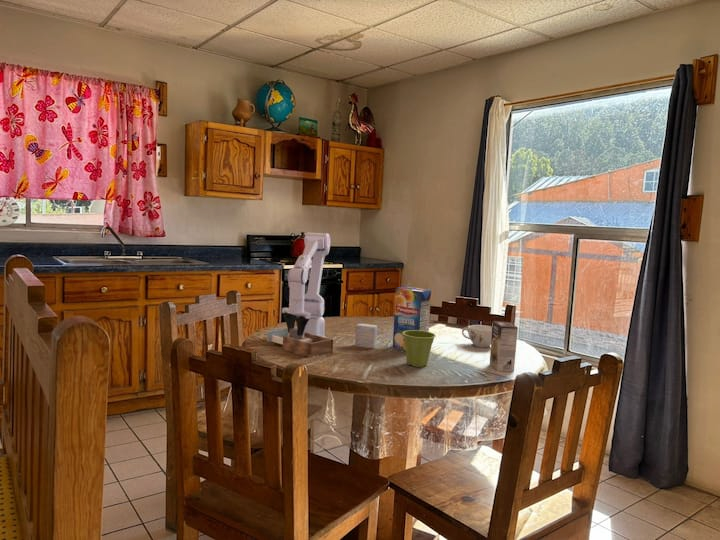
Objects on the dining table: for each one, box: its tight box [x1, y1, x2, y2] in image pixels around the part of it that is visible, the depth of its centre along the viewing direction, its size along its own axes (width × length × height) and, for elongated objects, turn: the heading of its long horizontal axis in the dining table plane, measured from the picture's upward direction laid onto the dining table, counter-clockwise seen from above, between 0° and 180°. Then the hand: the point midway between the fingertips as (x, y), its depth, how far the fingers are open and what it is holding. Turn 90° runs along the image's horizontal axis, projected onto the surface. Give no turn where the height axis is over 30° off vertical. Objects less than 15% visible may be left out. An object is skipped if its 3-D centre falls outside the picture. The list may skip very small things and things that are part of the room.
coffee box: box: [489, 320, 519, 372], centre depth 197 cm, size 9×6×16 cm
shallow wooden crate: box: [281, 332, 334, 358], centre depth 208 cm, size 16×12×5 cm
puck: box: [289, 327, 302, 340], centre depth 212 cm, size 5×5×4 cm
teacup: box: [461, 324, 492, 349], centre depth 230 cm, size 15×12×8 cm
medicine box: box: [354, 323, 379, 349], centre depth 219 cm, size 8×4×9 cm, turn 71°
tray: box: [266, 327, 313, 346], centre depth 214 cm, size 15×12×4 cm
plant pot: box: [403, 330, 437, 368], centre depth 196 cm, size 12×12×11 cm
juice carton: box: [392, 286, 432, 351], centre depth 218 cm, size 12×8×24 cm, turn 53°
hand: (295, 334), depth 212 cm, fingers closed on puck, 5 cm apart
